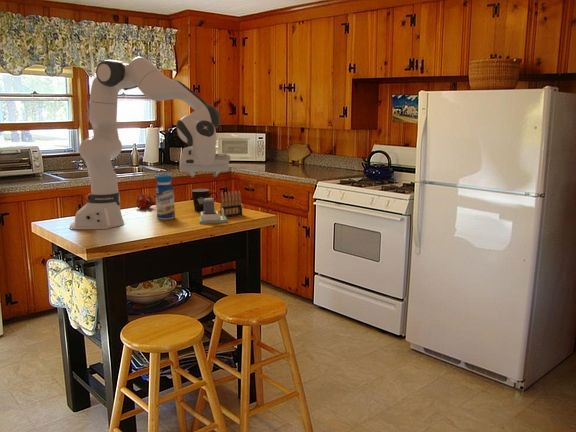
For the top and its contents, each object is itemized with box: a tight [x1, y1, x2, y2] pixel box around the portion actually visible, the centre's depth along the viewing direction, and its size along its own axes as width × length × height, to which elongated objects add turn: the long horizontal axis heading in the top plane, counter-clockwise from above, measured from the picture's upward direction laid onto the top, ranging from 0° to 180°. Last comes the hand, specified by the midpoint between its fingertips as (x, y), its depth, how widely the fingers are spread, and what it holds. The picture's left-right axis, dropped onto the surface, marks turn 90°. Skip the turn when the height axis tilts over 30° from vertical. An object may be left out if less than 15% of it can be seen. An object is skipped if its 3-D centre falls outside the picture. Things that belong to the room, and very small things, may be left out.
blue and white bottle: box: [154, 173, 176, 221], centre depth 256 cm, size 8×8×20 cm
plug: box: [203, 197, 215, 215], centre depth 248 cm, size 4×4×9 cm
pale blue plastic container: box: [198, 208, 228, 225], centre depth 249 cm, size 12×10×5 cm
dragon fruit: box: [135, 192, 156, 211], centre depth 281 cm, size 8×8×12 cm
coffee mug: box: [191, 188, 218, 212], centre depth 274 cm, size 12×9×10 cm
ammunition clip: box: [219, 190, 243, 218], centre depth 259 cm, size 11×2×12 cm, turn 123°
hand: (204, 175), depth 234 cm, fingers open, 8 cm apart
